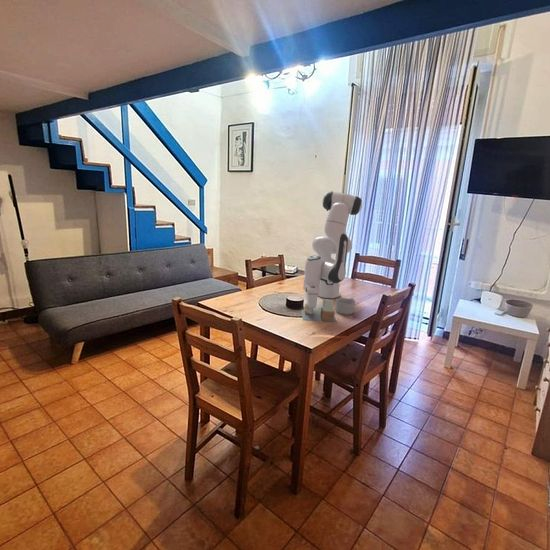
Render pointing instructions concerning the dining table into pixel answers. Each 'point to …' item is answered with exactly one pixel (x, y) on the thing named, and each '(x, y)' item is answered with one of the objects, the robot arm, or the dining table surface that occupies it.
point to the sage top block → (328, 305)
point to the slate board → (314, 317)
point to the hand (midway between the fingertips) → (309, 310)
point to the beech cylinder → (307, 309)
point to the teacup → (345, 306)
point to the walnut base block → (327, 315)
